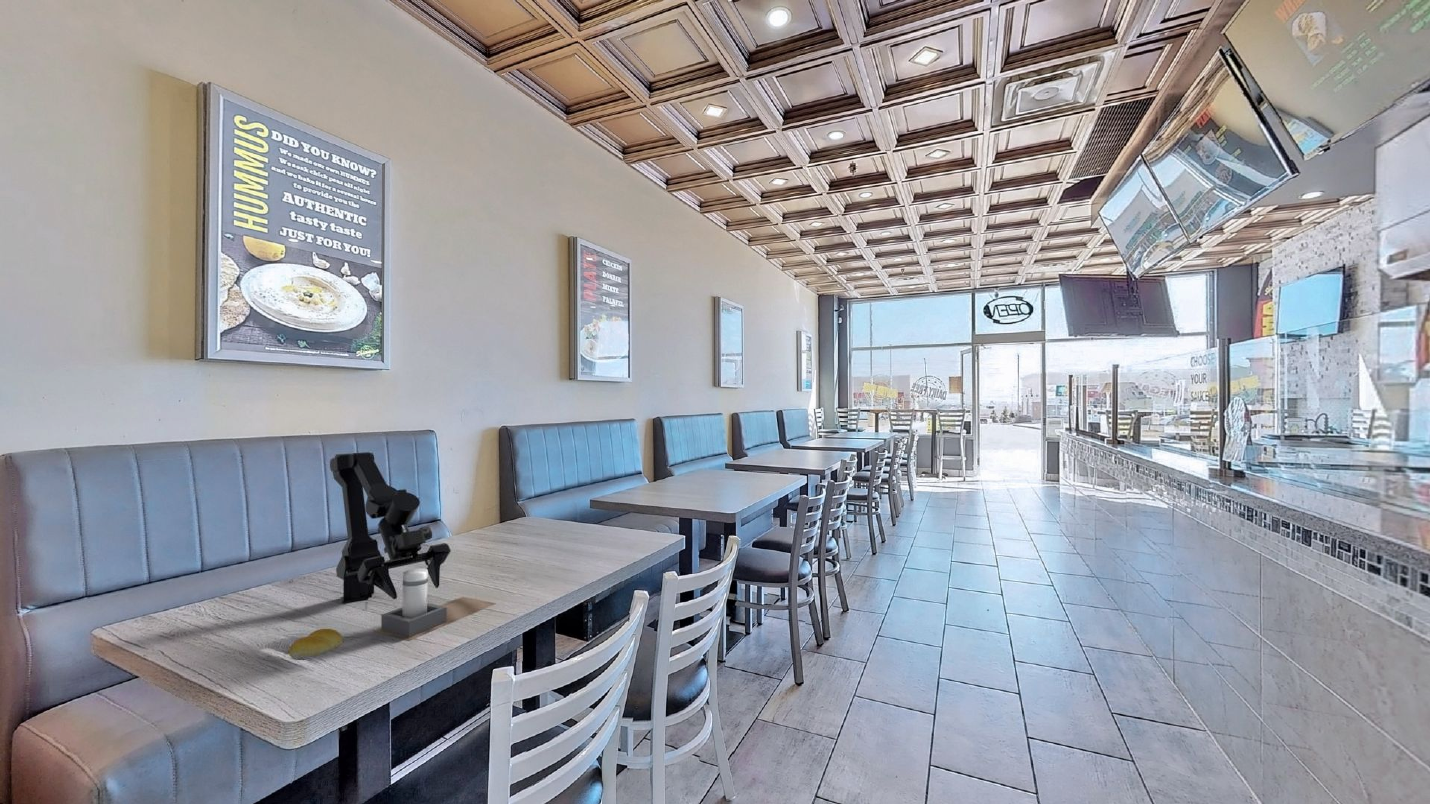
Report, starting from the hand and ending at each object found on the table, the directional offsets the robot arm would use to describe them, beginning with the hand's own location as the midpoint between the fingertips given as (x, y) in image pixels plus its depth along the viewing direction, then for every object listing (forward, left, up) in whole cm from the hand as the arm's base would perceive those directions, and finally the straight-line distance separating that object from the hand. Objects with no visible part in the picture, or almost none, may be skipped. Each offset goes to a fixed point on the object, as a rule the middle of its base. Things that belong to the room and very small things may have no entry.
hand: (417, 592), depth 122 cm
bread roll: (-19, 0, -9) cm, 21 cm away
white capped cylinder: (-1, +1, -8) cm, 8 cm away
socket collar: (-1, +1, -8) cm, 8 cm away
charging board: (+5, +5, -9) cm, 11 cm away
